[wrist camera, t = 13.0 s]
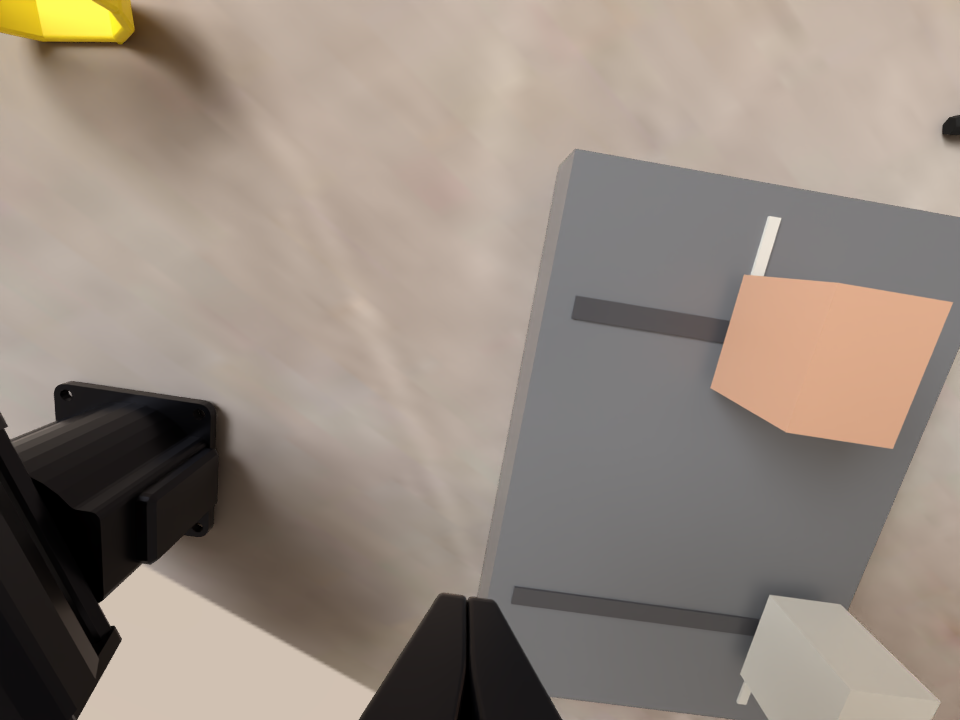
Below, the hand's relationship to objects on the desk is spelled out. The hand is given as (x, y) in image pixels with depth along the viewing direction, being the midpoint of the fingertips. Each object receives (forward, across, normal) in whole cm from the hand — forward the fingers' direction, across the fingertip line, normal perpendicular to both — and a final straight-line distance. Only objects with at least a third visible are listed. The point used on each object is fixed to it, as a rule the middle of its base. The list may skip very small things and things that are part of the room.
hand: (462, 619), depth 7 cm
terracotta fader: (+10, -10, -4) cm, 14 cm away
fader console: (+13, -10, +2) cm, 16 cm away
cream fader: (+10, -15, +8) cm, 19 cm away
